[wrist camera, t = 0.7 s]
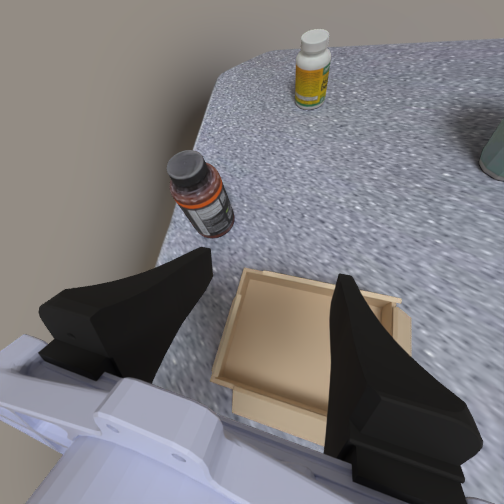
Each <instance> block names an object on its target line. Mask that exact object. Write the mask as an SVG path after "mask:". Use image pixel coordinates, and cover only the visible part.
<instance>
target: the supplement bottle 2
mask: <svg viewBox="0 0 504 504" xmlns="http://www.w3.org/2000/svg"><path fill="white" fill-rule="evenodd" d="M328 43H329V33H328V32H327V31H326V30H323V29H313V30H310V31H307V32H306V33H304V34H303V35H302V37H301V51H300V52H299V54H298V55H297V58H296V84H295V103H296V104H297V106H298V107H300V108H301V109H305V110H311V109H316V108H318V107H320V106H321V105H322V104H323V103H324V101H325V96H326V89H327V82H328V75H329V68H330V61H331V54H330V51H329V50H328V49H327V46H328Z"/></svg>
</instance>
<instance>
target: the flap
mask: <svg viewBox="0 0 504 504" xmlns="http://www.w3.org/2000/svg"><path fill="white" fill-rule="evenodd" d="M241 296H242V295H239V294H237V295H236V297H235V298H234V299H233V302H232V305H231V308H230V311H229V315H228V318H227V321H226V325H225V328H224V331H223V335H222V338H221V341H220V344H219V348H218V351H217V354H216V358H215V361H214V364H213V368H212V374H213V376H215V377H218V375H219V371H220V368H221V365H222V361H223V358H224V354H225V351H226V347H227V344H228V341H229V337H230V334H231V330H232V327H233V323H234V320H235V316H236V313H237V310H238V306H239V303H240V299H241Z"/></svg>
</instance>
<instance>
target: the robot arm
mask: <svg viewBox="0 0 504 504" xmlns="http://www.w3.org/2000/svg"><path fill="white" fill-rule="evenodd" d="M212 277H213V270H212V258H211V249H210V248H205V247H199V248H197V249H195V250H193V251H191V252H189V253H187V254H184V255H182V256H180V257H178V258H176V259H174V260H172V261H170V262H168V263H165V264H163V265H161V266H158V267H156V268H154V269H151V270H149V271H146V272H143V273H140V274H137V275H134V276H130V277H127V278H124V279H120V280H116V281H112V282H107V283H102V284H97V285H92V286H85V287H78V288H72V289H65V290H63V291H62V292H60V293H59V294H57V295H56V296H54V297H53V298H51V299H50V300H48V301H47V302H45V303H44V304H42V305H41V306H40V307H39V315H40V318H41V319H42V321H43V322H44V324H45V326H46V327H47V329H48V330H49V331H50V333H51V335H52V336H53V337H54V340H53V341H51V342H50V343H49V344H47V343H46V342H45V341H43V340H41V339H38V338H36V337H33V336H30V335H27V334H23V335H22V336H20V337H19V338H18V339H16V340H15V341H14V342H12V343H11V344H9V345H8V346H7V347H5V348H4V349H2V350H1V351H0V420H1V421H3V422H5V423H7V424H9V425H10V426H12V427H14V428H16V429H18V430H20V431H22V432H24V433H25V434H27V435H29V436H31V437H32V438H34V439H36V440H38V441H40V442H41V443H43V444H45V445H47V446H48V447H50V448H52V449H54V450H55V451H57V452H59V453H61V454H62V455H63V456H62V457H61V458H60V460H59V461H58V462H57V463H56V465H55V466H54V467H53V469H52V470H51V471H50V472H49V474H48V475H47V476H46V477H45V479H44V480H43V481H42V483H41V484H40V485H39V486H38V488H37V489H36V490H35V491H34V493H33V494H32V495H31V497H30V498H29V499H28V501H27V502H26V503H25V504H494V503H491V502H488V501H485V500H482V499H479V498H474V497H465V495H464V492H463V489H462V486H461V483H464V482H465V477H464V474H463V472H462V469H461V466H460V465H461V464H463V463H464V462H466V461H467V460H469V459H470V458H472V457H473V456H475V455H476V454H477V453H478V452H479V451H480V450H481V449H482V446H483V440H482V438H481V435H480V433H479V431H478V428H477V426H476V423H475V421H474V419H473V417H472V415H471V413H470V411H469V409H468V407H467V405H466V403H465V402H464V401H462V400H461V399H460V398H459V397H457V396H456V395H455V394H454V393H452V392H451V391H450V390H449V389H447V388H446V387H445V386H444V385H442V384H441V383H440V382H439V381H437V380H436V379H435V378H434V377H433V376H432V375H430V374H429V373H428V372H427V371H426V370H425V369H424V368H423V367H421V366H420V365H419V364H418V363H417V362H416V361H415V360H414V359H413V358H412V357H411V356H410V355H409V354H408V353H407V352H406V351H405V350H404V349H403V348H402V347H401V346H400V345H399V344H398V343H397V342H396V341H395V339H394V338H393V337H392V336H391V335H390V334H389V332H388V331H387V330H386V329H385V328H384V326H383V325H382V324H381V323H380V321H379V320H378V318H377V317H376V316H375V314H374V313H373V311H372V310H371V308H370V307H369V305H368V303H367V302H366V300H365V299H364V297H363V295H362V294H361V292H360V290H359V288H358V286H357V284H356V282H355V280H354V279H353V277H352V276H350V275H345V274H340V273H339V275H338V279H337V282H336V286H335V289H334V293H333V296H332V300H331V305H330V316H329V329H330V355H331V370H330V385H329V399H328V411H327V423H326V434H325V444H324V454H323V453H320V452H317V451H315V450H312V449H309V448H307V447H304V446H301V445H299V444H296V443H293V442H291V441H288V440H285V439H283V438H280V437H277V436H275V435H272V434H269V433H267V432H264V431H261V430H259V429H256V428H253V427H251V426H248V425H245V424H243V423H240V422H237V421H235V420H232V419H229V418H227V417H224V416H221V415H219V414H216V413H215V412H214V411H212V410H211V409H210V408H209V407H208V406H206V405H204V404H202V403H200V402H198V401H196V400H193V399H191V398H188V397H185V396H182V395H180V394H177V393H174V392H172V391H169V390H166V389H163V388H161V387H158V386H155V385H153V384H152V382H153V379H154V377H155V375H156V373H157V371H158V369H159V367H160V365H161V362H162V360H163V358H164V356H165V354H166V352H167V350H168V349H169V347H170V345H171V343H172V341H173V339H174V337H175V336H176V334H177V332H178V330H179V328H180V327H181V325H182V323H183V322H184V320H185V319H186V317H187V316H188V315H189V313H190V312H191V310H192V309H193V308H194V306H195V305H196V303H197V302H198V301H199V299H200V298H201V296H202V295H203V294H204V292H205V291H206V289H207V287H208V285H209V283H210V281H211V279H212Z"/></svg>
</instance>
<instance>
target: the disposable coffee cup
mask: <svg viewBox="0 0 504 504" xmlns="http://www.w3.org/2000/svg"><path fill="white" fill-rule="evenodd" d="M479 164H480V166H481V168H482V170H483V171H484V172H485V173H487V174H488V175H490V176H491V177H493V178H494V179H497V180H501V181H504V118H503V120H502V121H501V123H500V124H499V126H498V127H497V129H496V130H495V132H494V133H493V135H492V136H491V138H490V139H489V141H488V143H487V144H486V146H485V147H484V149H483V151H482V154H481V157H480V161H479Z"/></svg>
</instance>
